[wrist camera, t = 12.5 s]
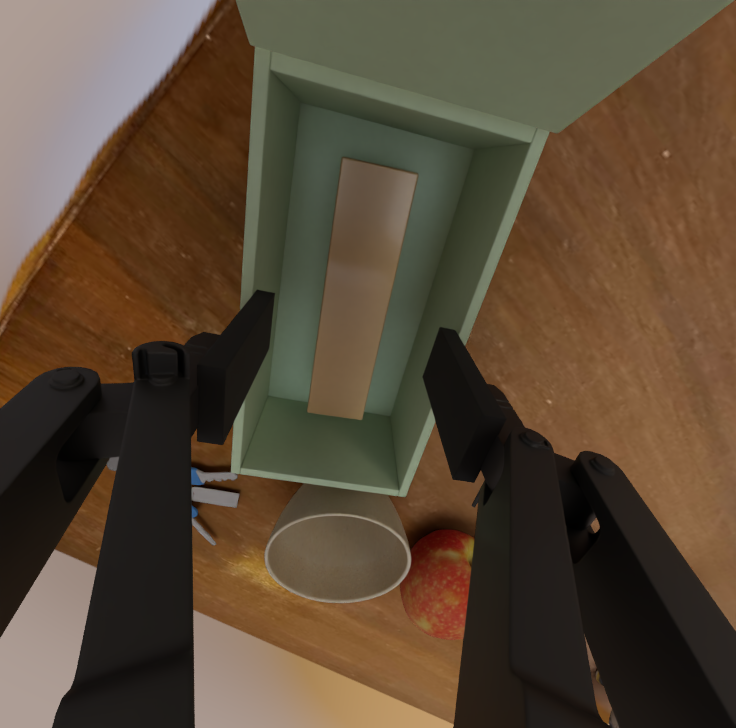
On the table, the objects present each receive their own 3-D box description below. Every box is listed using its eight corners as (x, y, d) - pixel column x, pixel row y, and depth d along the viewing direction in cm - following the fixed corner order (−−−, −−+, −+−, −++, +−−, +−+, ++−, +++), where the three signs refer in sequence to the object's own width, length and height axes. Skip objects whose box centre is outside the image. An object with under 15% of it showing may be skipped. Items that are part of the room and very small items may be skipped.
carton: (293, 88, 18) (254, 45, 11) (484, 141, 19) (550, 130, 12) (262, 396, 26) (230, 473, 20) (394, 418, 28) (405, 497, 21)
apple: (498, 531, 35) (533, 625, 28) (442, 575, 38) (461, 668, 31) (433, 500, 32) (454, 594, 25) (379, 550, 36) (385, 645, 29)
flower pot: (371, 420, 28) (374, 496, 21) (417, 501, 32) (431, 582, 26) (260, 462, 30) (233, 543, 23) (318, 533, 34) (309, 616, 28)
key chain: (87, 446, 28) (79, 453, 27) (162, 398, 26) (156, 405, 25) (214, 540, 34) (211, 549, 33) (283, 508, 32) (281, 516, 31)
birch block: (409, 171, 19) (419, 173, 16) (361, 390, 26) (362, 420, 23) (344, 157, 19) (341, 156, 16) (312, 382, 25) (306, 413, 22)
